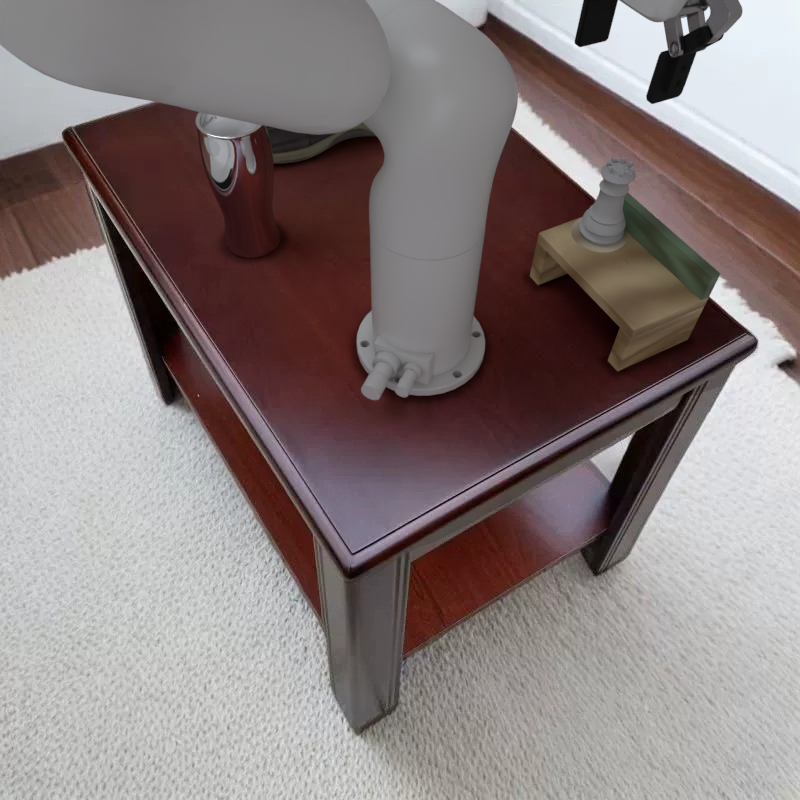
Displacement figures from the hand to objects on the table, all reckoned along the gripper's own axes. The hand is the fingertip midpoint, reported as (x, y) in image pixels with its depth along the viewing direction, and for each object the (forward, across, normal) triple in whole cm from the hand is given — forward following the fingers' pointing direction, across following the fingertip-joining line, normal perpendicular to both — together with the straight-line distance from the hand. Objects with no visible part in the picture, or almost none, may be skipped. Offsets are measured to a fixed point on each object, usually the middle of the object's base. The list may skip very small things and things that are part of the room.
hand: (625, 69), depth 61 cm
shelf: (+23, +6, +1) cm, 24 cm away
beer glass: (+23, -20, -29) cm, 42 cm away
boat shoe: (+23, -36, -13) cm, 45 cm away
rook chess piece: (+17, +1, +2) cm, 17 cm away
